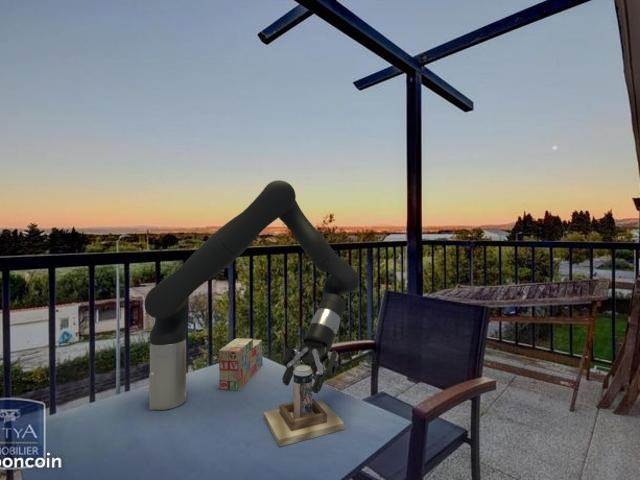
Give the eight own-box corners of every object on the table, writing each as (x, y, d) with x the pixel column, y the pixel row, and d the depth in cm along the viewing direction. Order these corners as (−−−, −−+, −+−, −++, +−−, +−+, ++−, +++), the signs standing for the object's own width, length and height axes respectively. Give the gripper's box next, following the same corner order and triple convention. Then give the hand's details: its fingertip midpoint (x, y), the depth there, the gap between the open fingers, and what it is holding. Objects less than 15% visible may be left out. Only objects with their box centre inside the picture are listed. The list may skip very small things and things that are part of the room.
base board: (279, 446, 72) (279, 430, 72) (263, 418, 84) (263, 404, 84) (344, 429, 79) (344, 414, 79) (321, 405, 91) (321, 392, 91)
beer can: (305, 424, 79) (305, 373, 79) (288, 418, 81) (289, 369, 81) (316, 415, 83) (316, 366, 83) (300, 409, 85) (300, 362, 85)
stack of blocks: (246, 364, 122) (246, 330, 122) (262, 365, 121) (262, 331, 121) (219, 390, 101) (218, 349, 101) (238, 391, 100) (238, 350, 100)
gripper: (295, 318, 92) (269, 375, 82) (341, 325, 85) (318, 387, 75) (306, 333, 96) (282, 388, 86) (351, 340, 89) (330, 401, 79)
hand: (299, 388), depth 81 cm, fingers open, 8 cm apart
